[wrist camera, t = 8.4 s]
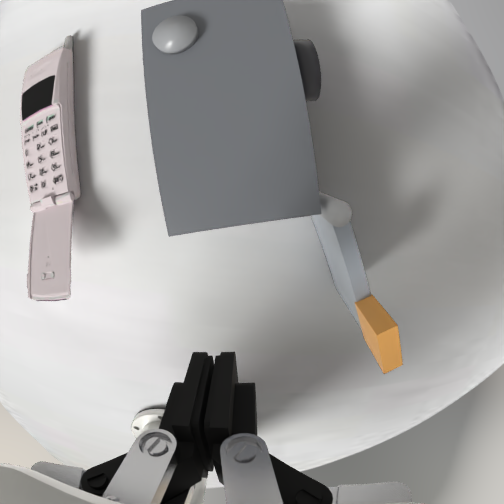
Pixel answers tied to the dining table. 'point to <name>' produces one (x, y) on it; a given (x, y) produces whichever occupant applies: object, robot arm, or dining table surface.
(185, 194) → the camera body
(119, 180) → the dining table surface
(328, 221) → the side door
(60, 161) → the mobile phone
